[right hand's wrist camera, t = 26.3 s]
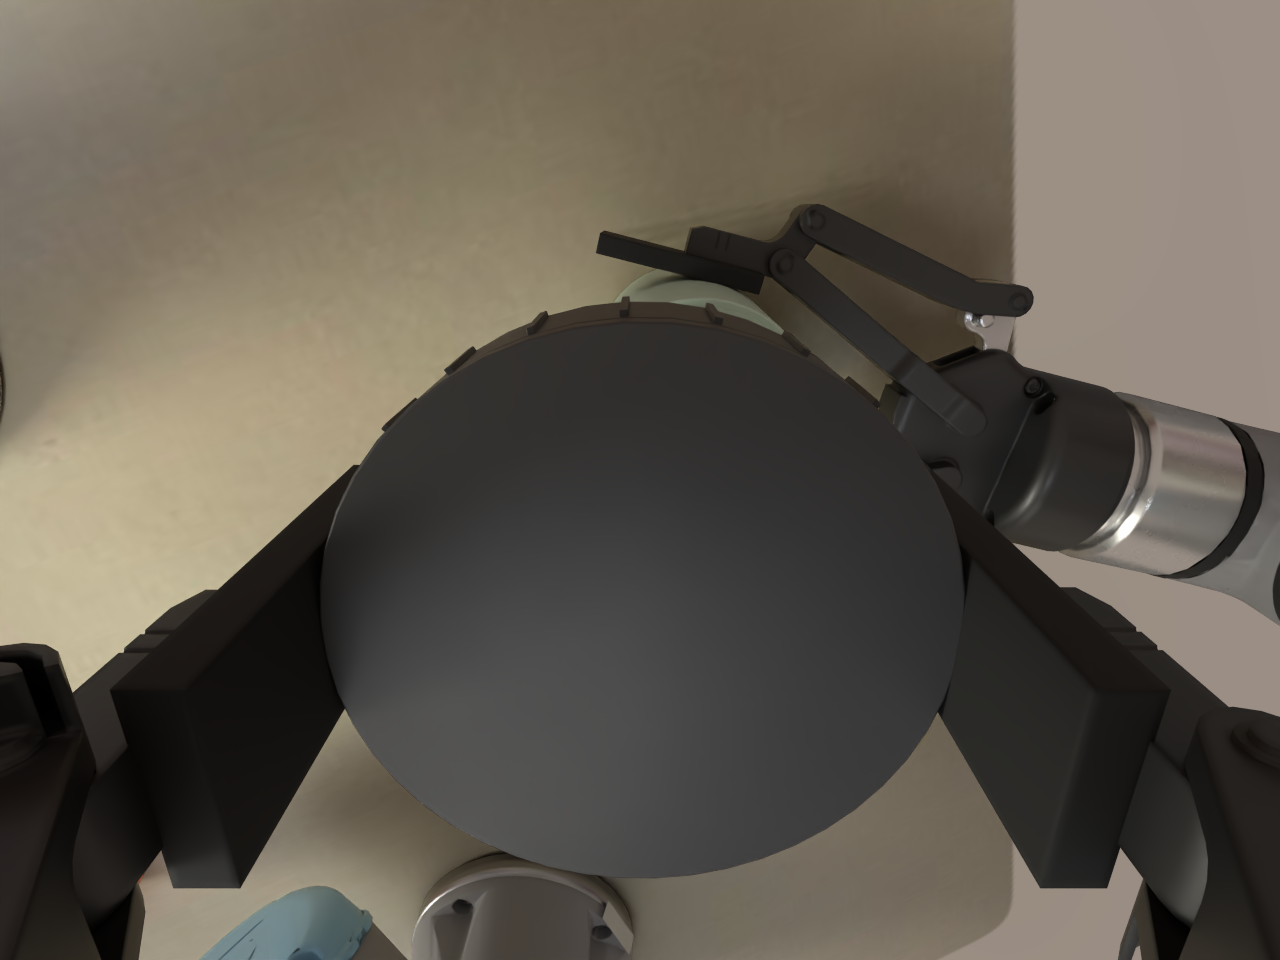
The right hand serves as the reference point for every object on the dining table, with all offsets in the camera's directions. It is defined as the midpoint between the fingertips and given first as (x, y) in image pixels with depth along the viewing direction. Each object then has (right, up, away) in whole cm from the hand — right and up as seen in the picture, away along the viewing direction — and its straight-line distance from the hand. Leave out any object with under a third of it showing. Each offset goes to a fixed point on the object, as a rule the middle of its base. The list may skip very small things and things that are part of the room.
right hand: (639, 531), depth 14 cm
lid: (0, -1, -3) cm, 3 cm away
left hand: (-3, +6, +16) cm, 18 cm away
